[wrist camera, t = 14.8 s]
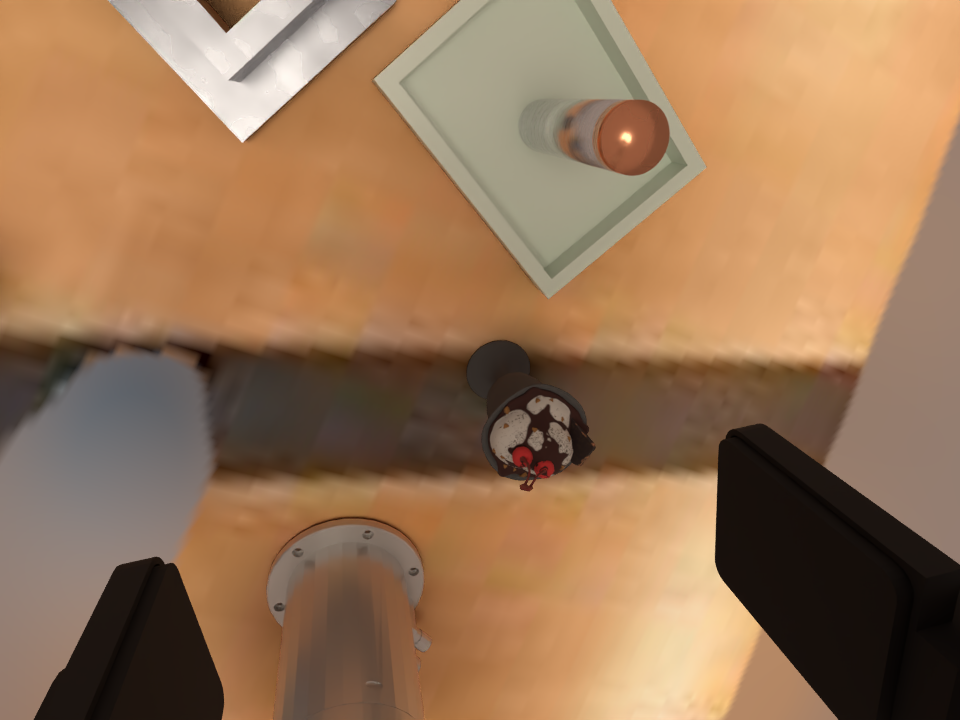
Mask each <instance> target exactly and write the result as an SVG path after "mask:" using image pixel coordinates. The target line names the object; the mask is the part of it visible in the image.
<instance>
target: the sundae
mask: <svg viewBox="0 0 960 720" xmlns="http://www.w3.org/2000/svg"><path fill="white" fill-rule="evenodd" d="M529 373H530V362H529V359H528V356H527V354H526V352H525V351H524V350H523V349H522V348H521V347H520V346H518V345H517V344H515V343H512V342H509V341H493V342H490V343H488V344H486V345H484V346H482V347H480V348H479V349H478V350H477V351H476V352H475V353H474V354H473V355H472V357H471V359H470V361H469V363H468V366H467V380H468V383H469V385H470V387H471V389H472V390H473V391H474V392H475V393H476V394H477V395H478V396H480V397H482V398H485V399H487V414H488V420H487V422H486V424H485V426H484V428H483V431H482V447H483V451H484V453H485V455H486V458H487V459H488V461H489V463H490V464H491V466H492V467H493V468H494V469H495V470H496V471H497V472H498V474H499V475H500V476H502V477H507V478H510V479H514V480H526V481H525V483H524V484H522V485H520V489H521V490H524V491H531V490H532V489H533V487H532V485H533V484H534V482H535V480H536V479H541V478H549V477H550V476H553V475H556V474H557V473H560V472H562V471H563V470H564V469H566V468H567V467H568V466H569V465H570V464H571V463H573V464H575V465H578V466H581V465H582V464H583V463H584V462H585V461H586V460H587V459H588V457H589V456H590V454H591V453H592V452H593V451H594V449H595V444H594V443H593V441H592V440H591V439H590V438H589V437H588V435H587V433H588V431H589V427H588V426H587V423H586V416H585V412H584V410H583V408H582V406H581V405H580V404H579V402H578V401H577V400H576V399H575V398H573V397H572V396H571V395H570V394H569V393H567V392H565V391H563V390H561V389H559V388H556V387H554V386H551V385H546V384H542V383H541V382H540V381H538V380H537V379H535V378H533V377H532V376H530V375H529ZM528 480H533V482H532V483H531V484H530V486H528V485H527V482H528Z"/></svg>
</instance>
